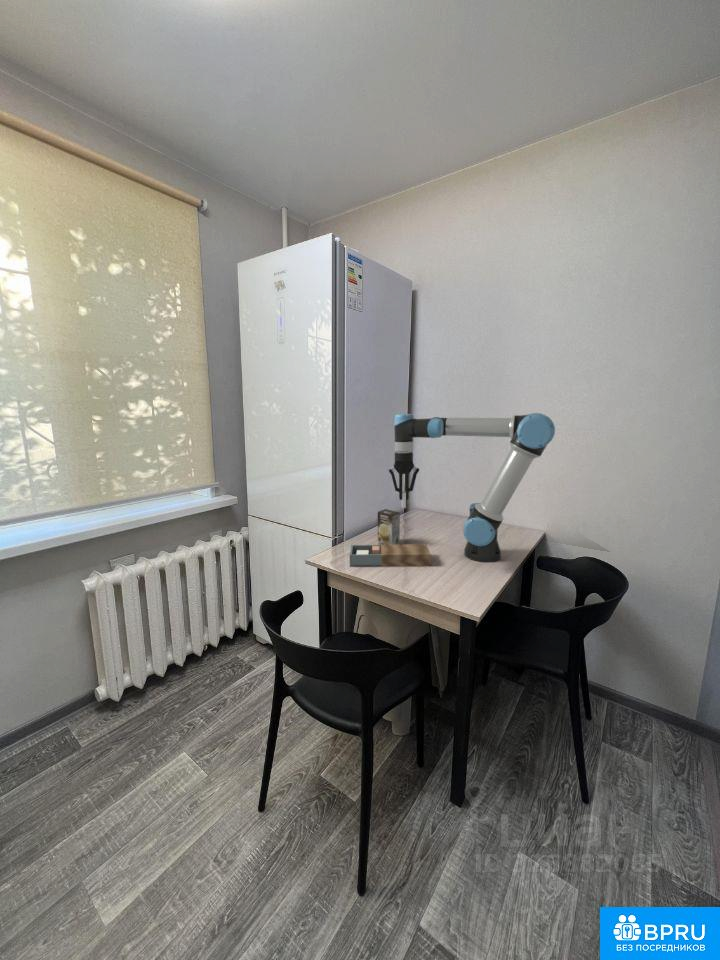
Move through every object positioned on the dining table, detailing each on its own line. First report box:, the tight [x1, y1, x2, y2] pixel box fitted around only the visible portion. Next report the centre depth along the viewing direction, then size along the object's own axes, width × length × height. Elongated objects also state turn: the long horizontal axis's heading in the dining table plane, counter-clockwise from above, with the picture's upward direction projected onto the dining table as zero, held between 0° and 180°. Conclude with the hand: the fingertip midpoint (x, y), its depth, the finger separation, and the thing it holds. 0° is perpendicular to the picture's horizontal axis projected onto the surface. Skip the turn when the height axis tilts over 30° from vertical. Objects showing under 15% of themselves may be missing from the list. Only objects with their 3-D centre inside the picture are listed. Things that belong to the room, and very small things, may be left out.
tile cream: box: [356, 550, 369, 555], centre depth 164 cm, size 5×5×3 cm
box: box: [349, 544, 381, 568], centre depth 164 cm, size 13×12×5 cm
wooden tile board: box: [381, 543, 432, 567], centre depth 163 cm, size 20×12×5 cm, turn 88°
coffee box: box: [377, 508, 401, 545], centre depth 182 cm, size 9×6×16 cm
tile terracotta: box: [372, 546, 380, 554], centre depth 163 cm, size 5×5×3 cm
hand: (403, 507), depth 163 cm, fingers closed
